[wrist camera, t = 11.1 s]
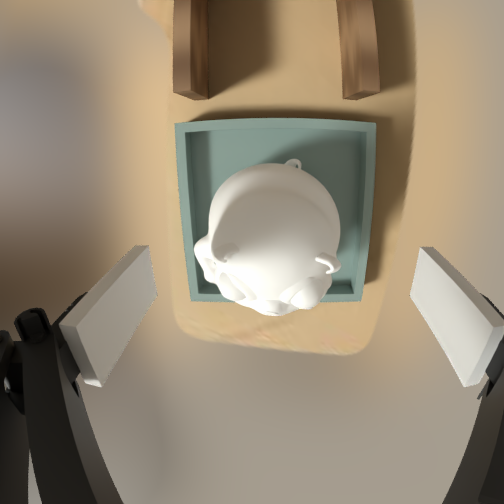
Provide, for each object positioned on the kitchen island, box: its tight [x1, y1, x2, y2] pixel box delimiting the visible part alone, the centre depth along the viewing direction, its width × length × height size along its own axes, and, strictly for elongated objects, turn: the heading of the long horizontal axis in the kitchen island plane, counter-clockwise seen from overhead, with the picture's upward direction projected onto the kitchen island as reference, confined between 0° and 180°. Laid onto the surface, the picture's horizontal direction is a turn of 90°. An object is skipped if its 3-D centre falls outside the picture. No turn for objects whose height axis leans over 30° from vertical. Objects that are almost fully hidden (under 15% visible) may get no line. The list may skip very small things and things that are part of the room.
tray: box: [175, 118, 376, 302], centre depth 25 cm, size 16×16×2 cm
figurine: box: [194, 159, 341, 316], centre depth 20 cm, size 10×10×12 cm
